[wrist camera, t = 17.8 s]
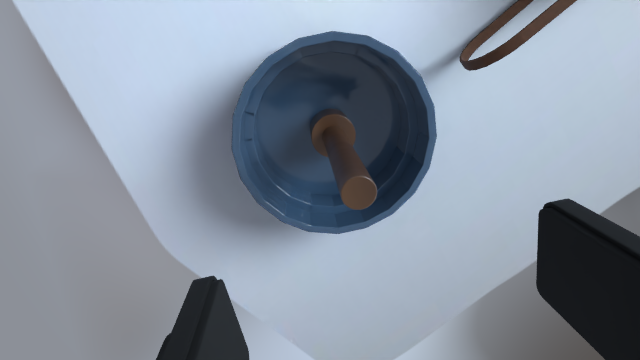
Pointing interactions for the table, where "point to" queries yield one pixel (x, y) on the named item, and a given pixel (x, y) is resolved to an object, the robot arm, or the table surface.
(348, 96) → the bowl
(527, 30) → the brown barrel bag
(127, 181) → the table surface
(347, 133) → the stirring stick
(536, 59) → the table surface
